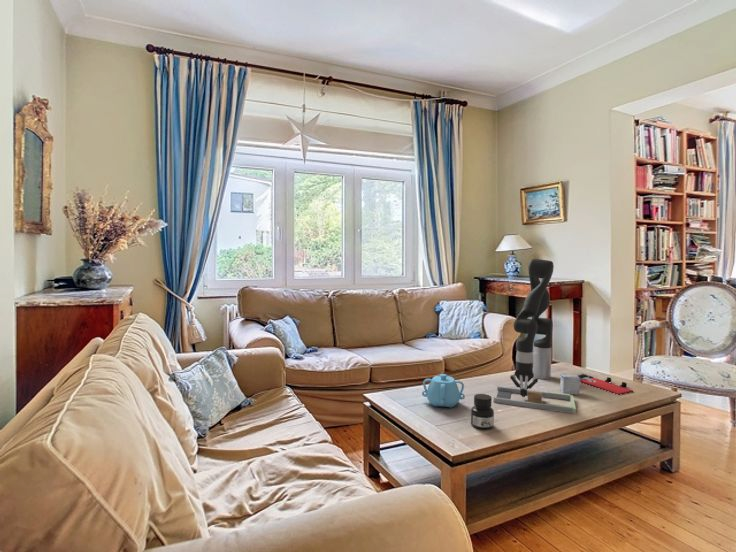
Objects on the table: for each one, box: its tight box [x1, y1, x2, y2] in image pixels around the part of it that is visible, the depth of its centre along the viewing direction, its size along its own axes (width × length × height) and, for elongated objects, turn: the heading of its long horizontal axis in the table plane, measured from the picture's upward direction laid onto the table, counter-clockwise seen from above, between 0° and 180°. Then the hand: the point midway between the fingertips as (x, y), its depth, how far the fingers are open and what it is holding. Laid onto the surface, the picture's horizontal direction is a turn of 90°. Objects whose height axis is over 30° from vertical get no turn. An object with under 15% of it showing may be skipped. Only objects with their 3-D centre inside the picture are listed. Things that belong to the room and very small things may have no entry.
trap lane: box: [493, 385, 577, 415], centre depth 196 cm, size 19×34×2 cm, turn 67°
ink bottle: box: [470, 393, 495, 431], centre depth 168 cm, size 10×9×12 cm
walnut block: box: [527, 390, 543, 404], centre depth 196 cm, size 6×6×4 cm
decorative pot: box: [421, 373, 466, 408], centre depth 192 cm, size 16×16×14 cm
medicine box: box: [559, 374, 581, 395], centre depth 207 cm, size 8×4×9 cm, turn 84°
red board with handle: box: [576, 373, 634, 396], centre depth 221 cm, size 30×3×15 cm
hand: (523, 396), depth 198 cm, fingers closed
